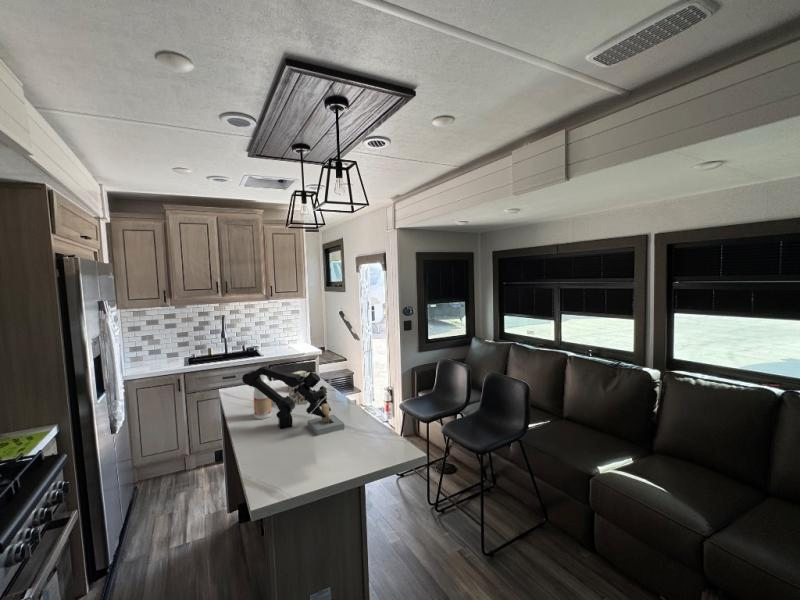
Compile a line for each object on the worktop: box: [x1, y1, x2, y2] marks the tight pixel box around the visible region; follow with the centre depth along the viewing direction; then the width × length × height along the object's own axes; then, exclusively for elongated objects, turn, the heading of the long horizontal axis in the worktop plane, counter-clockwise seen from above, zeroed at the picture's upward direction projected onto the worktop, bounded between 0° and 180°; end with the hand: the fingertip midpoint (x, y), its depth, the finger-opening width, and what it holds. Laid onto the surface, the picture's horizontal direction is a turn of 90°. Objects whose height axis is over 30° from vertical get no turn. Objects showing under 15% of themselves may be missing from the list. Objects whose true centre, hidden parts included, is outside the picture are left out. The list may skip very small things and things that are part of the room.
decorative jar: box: [288, 374, 309, 405], centre depth 240 cm, size 12×12×18 cm
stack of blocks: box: [287, 370, 318, 391], centre depth 269 cm, size 21×6×12 cm, turn 143°
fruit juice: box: [253, 375, 273, 420], centre depth 216 cm, size 9×9×28 cm
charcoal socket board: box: [307, 414, 345, 436], centre depth 200 cm, size 15×15×3 cm
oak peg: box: [320, 402, 330, 425], centre depth 200 cm, size 4×4×12 cm
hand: (328, 413), depth 200 cm, fingers open, 9 cm apart
